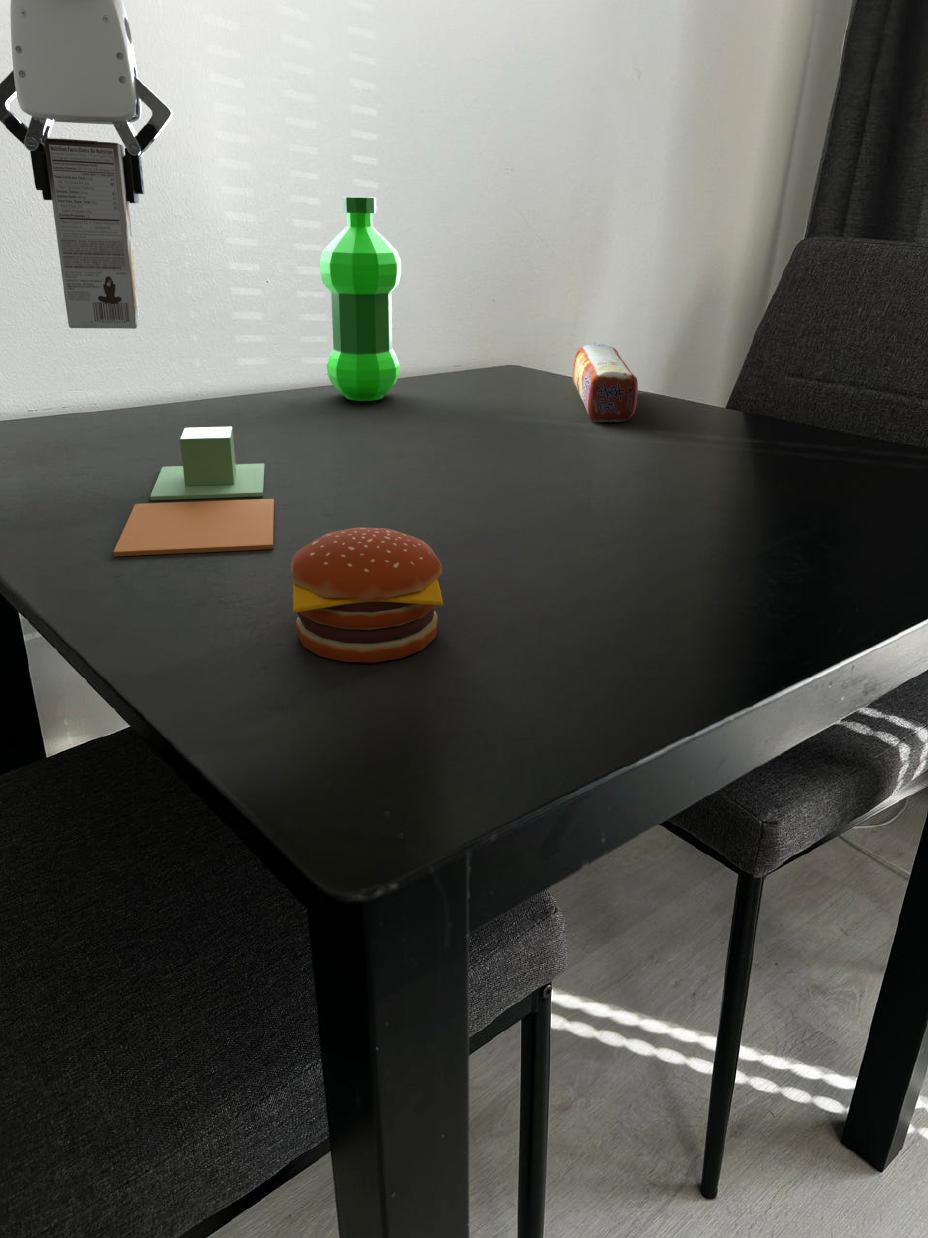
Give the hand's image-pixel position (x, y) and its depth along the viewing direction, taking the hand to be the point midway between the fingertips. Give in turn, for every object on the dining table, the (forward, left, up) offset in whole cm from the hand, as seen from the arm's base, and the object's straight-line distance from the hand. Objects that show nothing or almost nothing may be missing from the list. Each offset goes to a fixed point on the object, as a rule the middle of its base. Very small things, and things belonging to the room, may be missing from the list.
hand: (92, 199), depth 86 cm
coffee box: (0, 0, -11) cm, 11 cm away
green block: (+9, -11, -24) cm, 28 cm away
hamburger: (+21, -46, -25) cm, 57 cm away
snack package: (+59, +19, -25) cm, 66 cm away
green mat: (+9, -11, -25) cm, 29 cm away
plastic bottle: (+27, +28, -25) cm, 46 cm away
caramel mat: (+9, -24, -25) cm, 36 cm away
